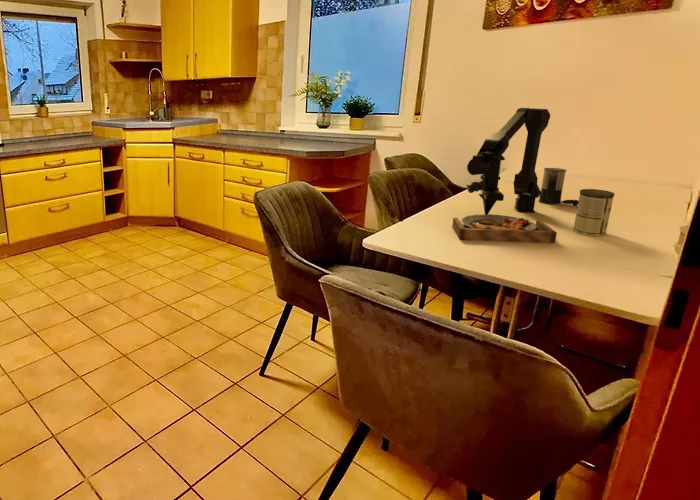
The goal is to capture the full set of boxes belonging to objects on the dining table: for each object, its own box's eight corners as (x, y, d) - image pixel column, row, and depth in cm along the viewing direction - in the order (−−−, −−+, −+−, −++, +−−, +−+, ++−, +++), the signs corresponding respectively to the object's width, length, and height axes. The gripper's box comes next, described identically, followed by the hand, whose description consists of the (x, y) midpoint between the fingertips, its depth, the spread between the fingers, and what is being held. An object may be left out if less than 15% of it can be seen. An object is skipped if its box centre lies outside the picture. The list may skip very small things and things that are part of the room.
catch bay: (539, 230, 155) (540, 220, 154) (555, 243, 141) (556, 232, 140) (452, 227, 156) (453, 217, 155) (459, 239, 142) (460, 229, 141)
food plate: (544, 227, 158) (545, 217, 157) (523, 243, 141) (525, 232, 140) (477, 217, 173) (477, 208, 172) (450, 230, 155) (451, 220, 154)
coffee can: (571, 226, 160) (578, 187, 156) (602, 229, 157) (611, 190, 152) (574, 234, 151) (582, 193, 146) (608, 237, 148) (617, 196, 143)
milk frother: (536, 199, 203) (541, 166, 198) (572, 201, 201) (578, 168, 196) (544, 206, 190) (550, 171, 185) (583, 208, 187) (590, 173, 183)
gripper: (464, 168, 173) (460, 207, 178) (474, 176, 155) (469, 220, 160) (493, 169, 172) (488, 208, 177) (506, 177, 155) (500, 221, 160)
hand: (486, 214), depth 169 cm, fingers closed
